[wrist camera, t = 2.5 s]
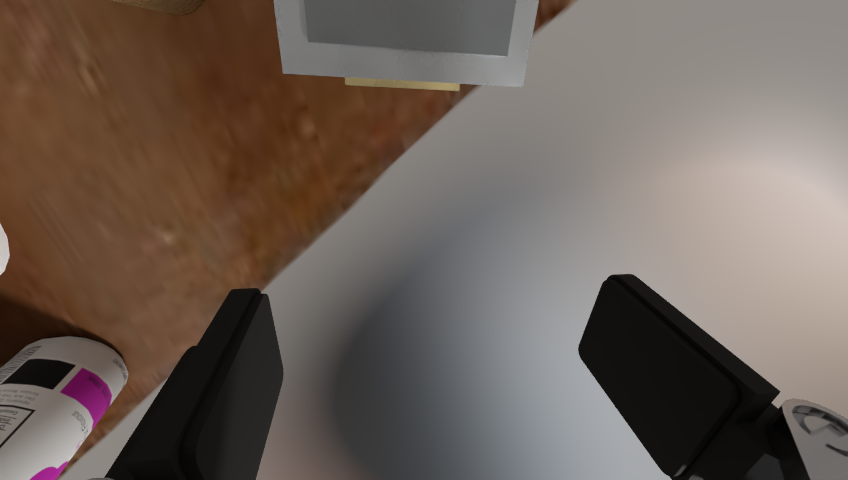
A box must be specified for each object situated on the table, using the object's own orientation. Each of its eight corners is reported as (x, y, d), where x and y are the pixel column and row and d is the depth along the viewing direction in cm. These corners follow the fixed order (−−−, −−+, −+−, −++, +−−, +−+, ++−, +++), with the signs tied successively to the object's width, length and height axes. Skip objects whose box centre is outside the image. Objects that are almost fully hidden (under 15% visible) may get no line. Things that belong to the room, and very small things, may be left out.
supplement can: (150, 358, 32) (6, 559, 19) (104, 402, 34) (-56, 613, 21) (54, 316, 28) (-204, 531, 16) (8, 368, 30) (-258, 600, 17)
